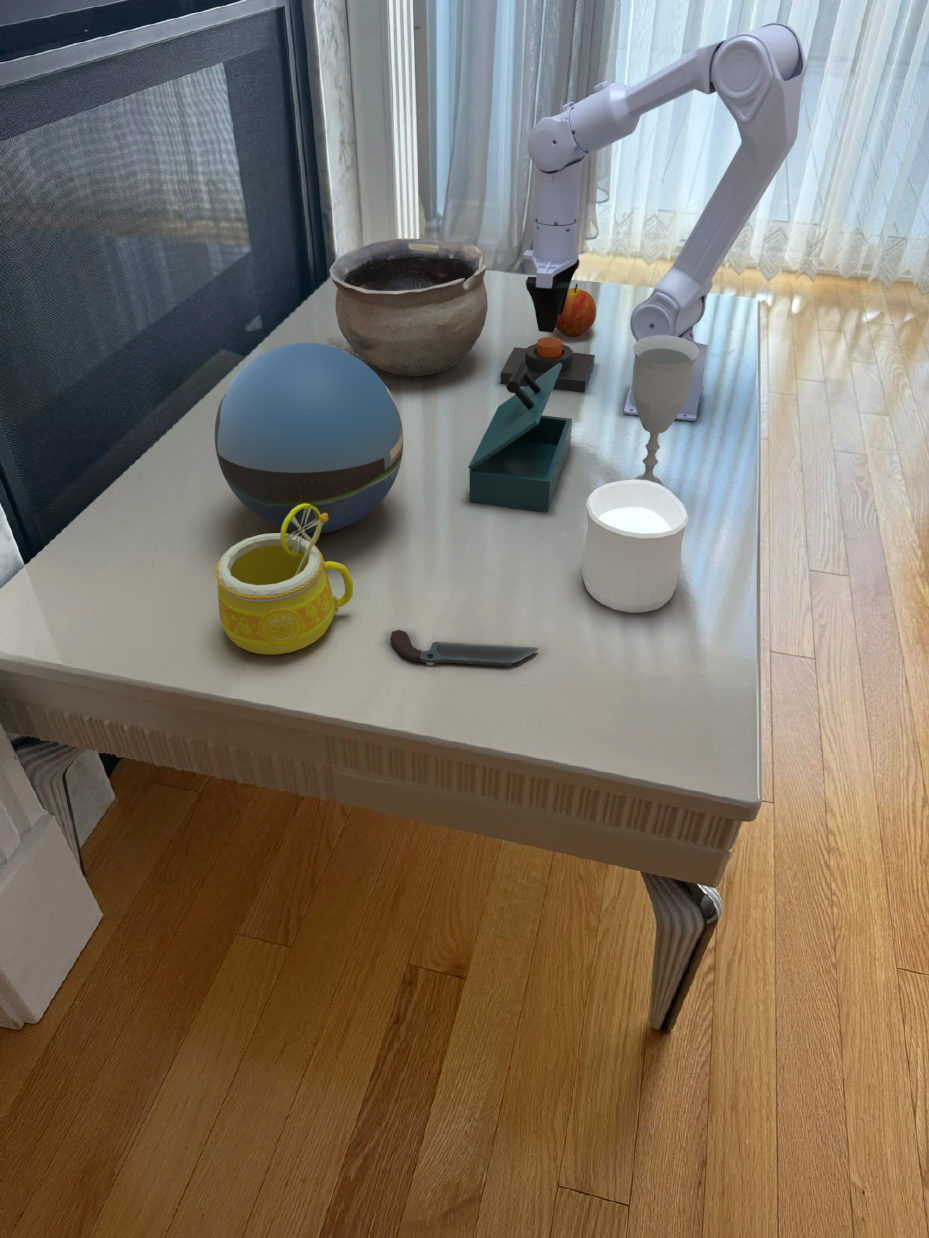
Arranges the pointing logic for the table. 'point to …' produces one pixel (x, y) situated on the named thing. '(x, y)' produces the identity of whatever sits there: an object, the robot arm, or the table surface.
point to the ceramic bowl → (411, 303)
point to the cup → (633, 545)
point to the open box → (524, 468)
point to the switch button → (549, 347)
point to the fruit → (577, 313)
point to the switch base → (571, 373)
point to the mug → (278, 589)
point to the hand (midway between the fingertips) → (550, 322)
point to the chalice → (660, 387)
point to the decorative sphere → (309, 436)
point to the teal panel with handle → (516, 411)
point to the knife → (461, 652)
